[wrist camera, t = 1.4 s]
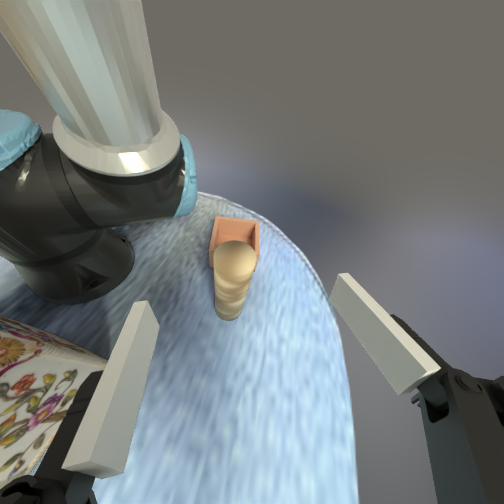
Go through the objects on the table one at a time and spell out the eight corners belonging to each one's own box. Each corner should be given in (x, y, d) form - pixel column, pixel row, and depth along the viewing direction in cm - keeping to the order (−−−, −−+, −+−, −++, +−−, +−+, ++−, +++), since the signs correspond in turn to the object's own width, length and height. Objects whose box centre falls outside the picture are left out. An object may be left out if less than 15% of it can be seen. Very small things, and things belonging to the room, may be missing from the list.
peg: (213, 319, 32) (210, 273, 19) (217, 293, 35) (216, 238, 22) (241, 321, 32) (256, 277, 20) (242, 295, 35) (256, 242, 23)
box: (209, 267, 38) (208, 250, 33) (216, 234, 44) (215, 215, 39) (254, 271, 39) (259, 255, 34) (254, 238, 45) (258, 221, 40)
